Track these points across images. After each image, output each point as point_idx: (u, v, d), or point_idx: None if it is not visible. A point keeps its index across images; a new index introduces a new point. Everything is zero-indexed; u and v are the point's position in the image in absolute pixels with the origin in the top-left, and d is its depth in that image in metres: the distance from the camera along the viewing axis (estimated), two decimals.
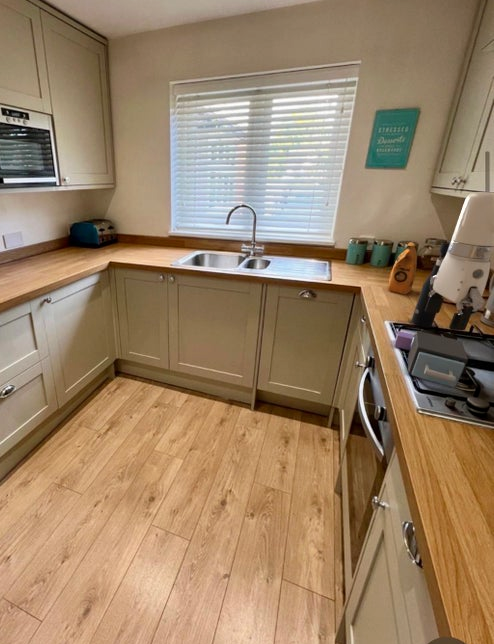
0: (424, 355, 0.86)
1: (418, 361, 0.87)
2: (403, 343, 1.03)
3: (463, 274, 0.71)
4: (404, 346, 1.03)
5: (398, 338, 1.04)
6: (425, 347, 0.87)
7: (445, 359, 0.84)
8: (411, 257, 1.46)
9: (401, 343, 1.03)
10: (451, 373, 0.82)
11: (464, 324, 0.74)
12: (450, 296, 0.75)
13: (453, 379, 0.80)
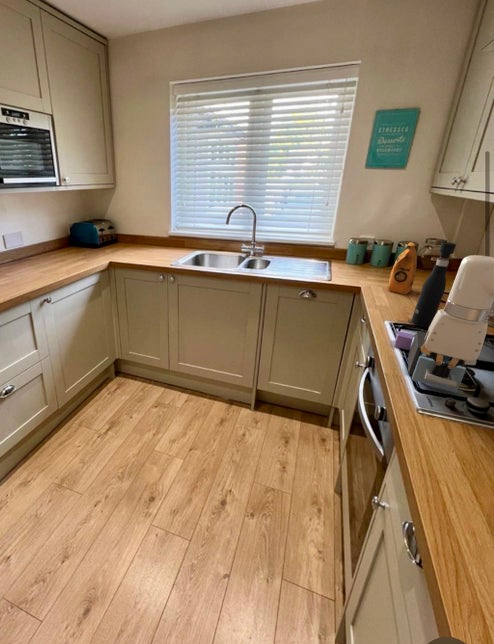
0: (424, 359, 0.84)
1: (418, 365, 0.85)
2: (403, 343, 1.03)
3: (481, 336, 0.73)
4: (404, 346, 1.03)
5: (398, 338, 1.04)
6: None
7: None
8: (411, 257, 1.46)
9: (401, 343, 1.03)
10: (452, 378, 0.80)
11: None
12: (463, 356, 0.76)
13: (455, 384, 0.78)
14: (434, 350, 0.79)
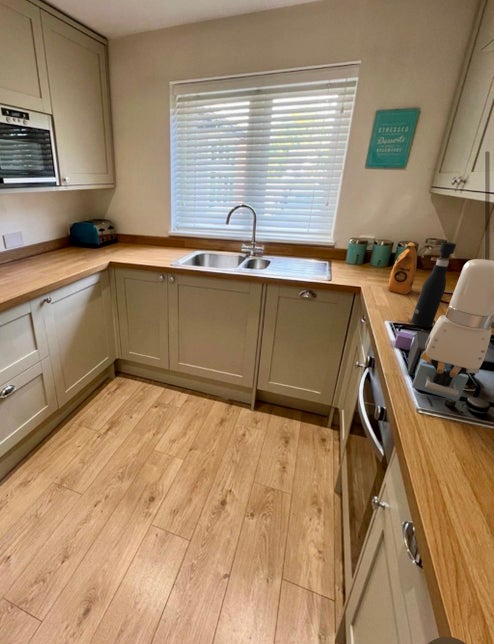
0: (425, 366, 0.81)
1: (419, 373, 0.82)
2: (403, 343, 1.03)
3: (485, 343, 0.70)
4: (404, 346, 1.03)
5: (398, 338, 1.04)
6: None
7: None
8: (411, 257, 1.46)
9: (401, 343, 1.03)
10: (454, 386, 0.77)
11: None
12: (466, 364, 0.73)
13: (457, 393, 0.74)
14: (435, 358, 0.75)
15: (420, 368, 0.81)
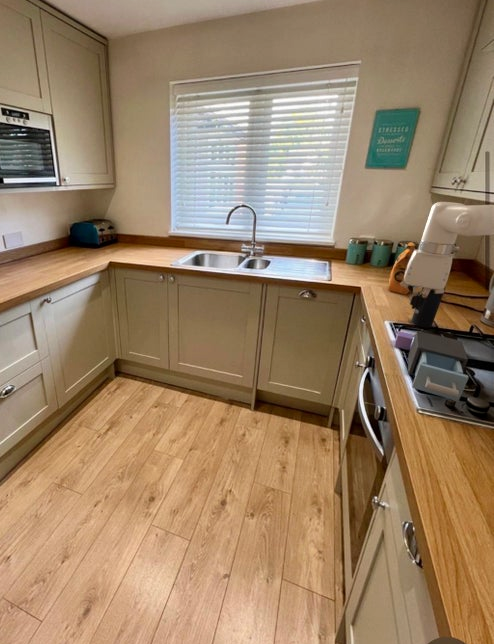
0: (425, 367, 0.80)
1: (419, 373, 0.82)
2: (403, 343, 1.03)
3: (447, 267, 0.91)
4: (404, 346, 1.03)
5: (398, 338, 1.04)
6: (425, 347, 0.87)
7: (448, 371, 0.79)
8: None
9: (401, 343, 1.03)
10: (454, 386, 0.77)
11: None
12: (434, 285, 0.94)
13: (457, 394, 0.74)
14: (411, 283, 0.96)
15: (420, 368, 0.81)
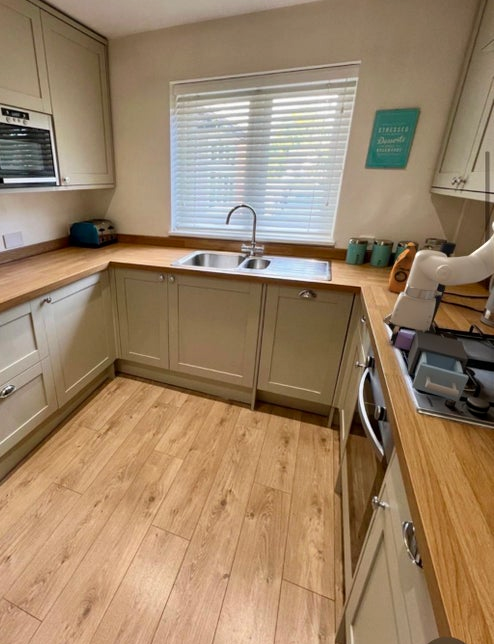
0: (425, 367, 0.80)
1: (419, 373, 0.82)
2: (403, 343, 1.03)
3: (431, 311, 0.97)
4: (404, 346, 1.03)
5: (398, 338, 1.04)
6: (425, 347, 0.87)
7: (448, 371, 0.79)
8: (411, 257, 1.46)
9: (401, 343, 1.03)
10: (454, 386, 0.77)
11: None
12: (418, 327, 0.99)
13: (457, 394, 0.74)
14: (397, 323, 1.02)
15: (420, 368, 0.81)
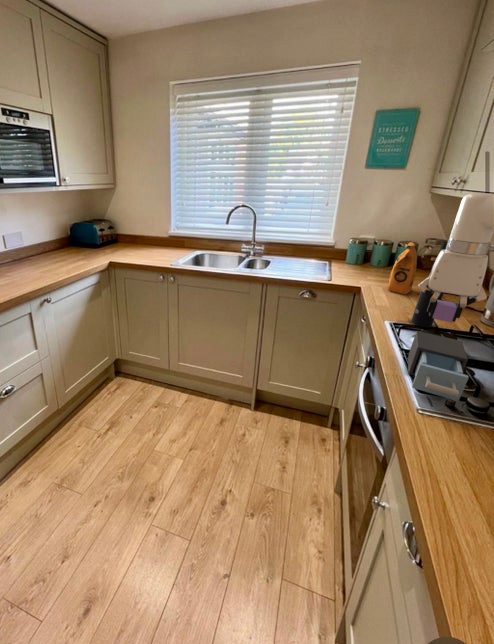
0: (425, 367, 0.80)
1: (419, 373, 0.82)
2: (444, 313, 0.83)
3: (482, 270, 0.77)
4: (445, 317, 0.83)
5: (438, 307, 0.84)
6: (425, 347, 0.87)
7: (448, 371, 0.79)
8: (411, 257, 1.46)
9: (442, 313, 0.84)
10: (454, 386, 0.77)
11: None
12: (465, 292, 0.80)
13: (457, 394, 0.74)
14: (437, 288, 0.82)
15: (420, 368, 0.81)
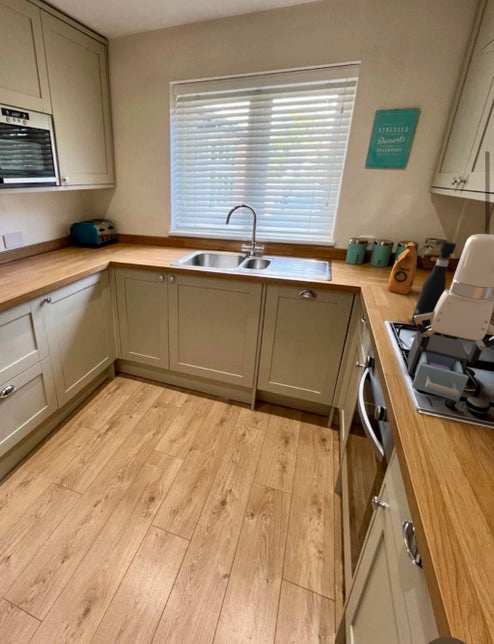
0: (425, 367, 0.80)
1: (419, 373, 0.82)
2: None
3: (487, 314, 0.73)
4: None
5: None
6: None
7: (448, 371, 0.79)
8: (411, 257, 1.46)
9: None
10: (454, 386, 0.77)
11: None
12: (470, 335, 0.76)
13: (457, 394, 0.74)
14: (440, 330, 0.79)
15: (420, 368, 0.81)
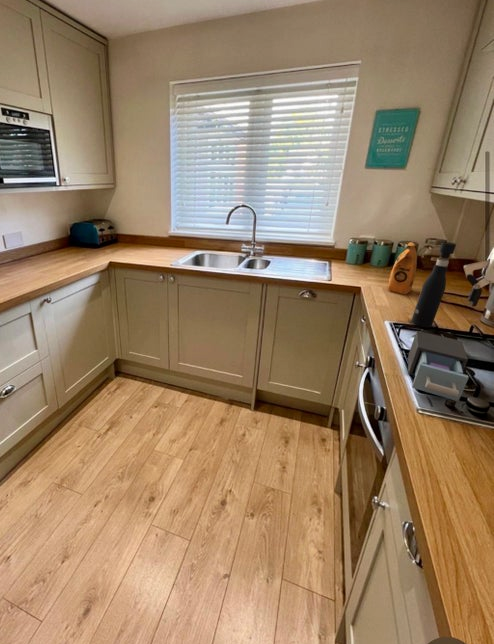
0: (425, 367, 0.80)
1: (419, 373, 0.82)
2: None
3: None
4: None
5: None
6: (425, 347, 0.87)
7: (448, 371, 0.79)
8: (411, 257, 1.46)
9: None
10: (454, 386, 0.77)
11: None
12: None
13: (457, 394, 0.74)
14: None
15: (420, 368, 0.81)
